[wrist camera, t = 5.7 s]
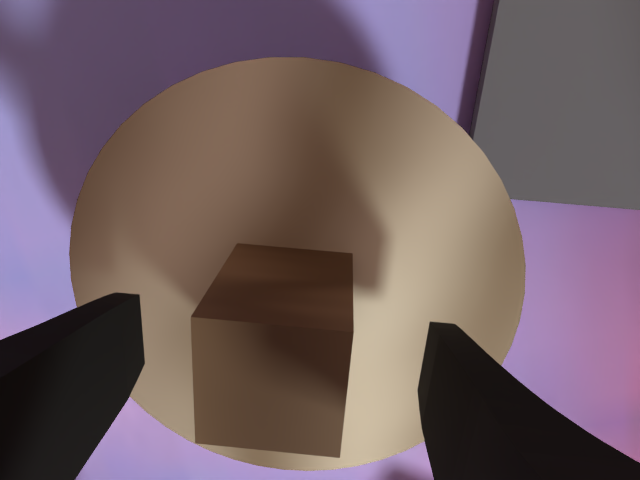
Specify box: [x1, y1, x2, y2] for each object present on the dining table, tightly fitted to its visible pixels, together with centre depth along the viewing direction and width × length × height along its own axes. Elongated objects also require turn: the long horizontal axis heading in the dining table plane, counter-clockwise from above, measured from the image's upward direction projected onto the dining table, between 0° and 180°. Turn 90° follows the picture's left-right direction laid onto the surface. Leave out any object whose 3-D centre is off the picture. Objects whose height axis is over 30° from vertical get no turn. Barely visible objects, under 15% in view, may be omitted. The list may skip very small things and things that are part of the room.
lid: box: [69, 57, 525, 471], centre depth 12 cm, size 13×13×5 cm
